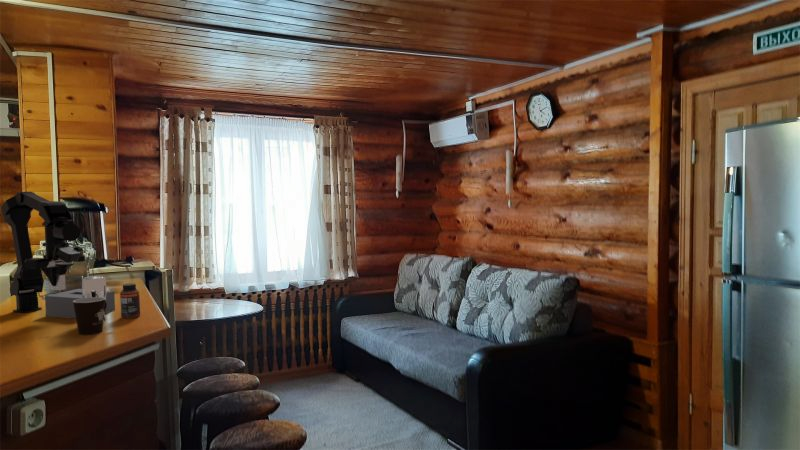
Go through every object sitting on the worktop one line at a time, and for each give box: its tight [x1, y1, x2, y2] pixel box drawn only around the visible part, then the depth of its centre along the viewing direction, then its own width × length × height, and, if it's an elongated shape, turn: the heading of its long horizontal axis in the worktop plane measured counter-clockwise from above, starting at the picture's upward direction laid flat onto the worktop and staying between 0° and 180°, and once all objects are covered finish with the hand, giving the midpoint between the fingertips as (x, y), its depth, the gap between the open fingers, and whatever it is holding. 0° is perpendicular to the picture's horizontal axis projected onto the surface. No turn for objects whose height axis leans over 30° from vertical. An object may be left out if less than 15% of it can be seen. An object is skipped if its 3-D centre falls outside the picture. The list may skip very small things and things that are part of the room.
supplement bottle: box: [119, 282, 141, 320], centre depth 195 cm, size 6×6×11 cm
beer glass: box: [81, 275, 107, 324], centre depth 186 cm, size 7×7×15 cm
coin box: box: [44, 288, 116, 319], centre depth 201 cm, size 16×14×7 cm
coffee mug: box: [73, 297, 107, 336], centre depth 176 cm, size 12×9×10 cm
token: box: [48, 274, 67, 291], centre depth 193 cm, size 5×2×5 cm, turn 72°
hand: (57, 285), depth 194 cm, fingers closed on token, 2 cm apart
